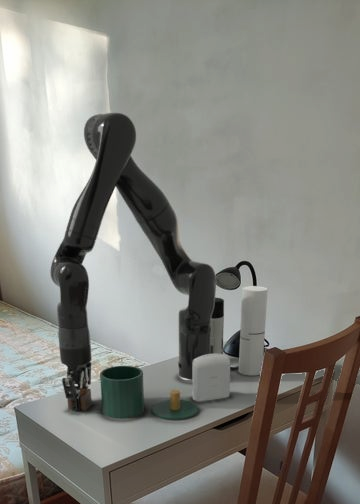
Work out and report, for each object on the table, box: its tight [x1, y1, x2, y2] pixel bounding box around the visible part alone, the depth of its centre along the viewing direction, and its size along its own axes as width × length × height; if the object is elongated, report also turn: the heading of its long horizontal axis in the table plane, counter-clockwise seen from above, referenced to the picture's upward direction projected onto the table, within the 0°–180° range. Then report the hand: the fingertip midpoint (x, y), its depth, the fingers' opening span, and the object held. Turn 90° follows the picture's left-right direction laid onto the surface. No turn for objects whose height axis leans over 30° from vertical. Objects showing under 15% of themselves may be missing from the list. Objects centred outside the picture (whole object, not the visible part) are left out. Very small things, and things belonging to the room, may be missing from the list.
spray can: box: [211, 297, 225, 354], centre depth 165 cm, size 7×7×20 cm
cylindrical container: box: [238, 285, 268, 376], centre depth 156 cm, size 7×7×25 cm
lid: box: [152, 389, 199, 421], centre depth 132 cm, size 11×11×6 cm
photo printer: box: [191, 353, 231, 402], centre depth 139 cm, size 10×4×12 cm, turn 109°
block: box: [67, 388, 93, 412], centre depth 135 cm, size 5×5×5 cm
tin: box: [99, 365, 145, 420], centre depth 132 cm, size 10×10×10 cm
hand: (80, 406), depth 136 cm, fingers closed on block, 4 cm apart
